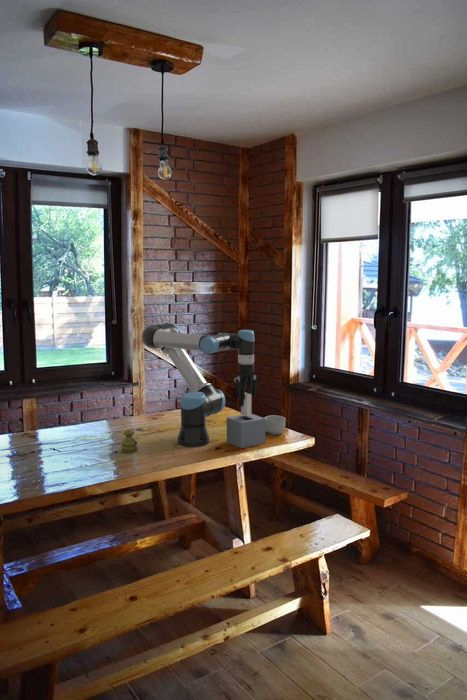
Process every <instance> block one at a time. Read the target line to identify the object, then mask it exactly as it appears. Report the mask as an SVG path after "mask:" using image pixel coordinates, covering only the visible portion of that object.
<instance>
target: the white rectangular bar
mask: <svg viewBox="0 0 467 700" xmlns="http://www.w3.org/2000/svg"><path fill="white" fill-rule="evenodd" d="M244 399H245V400H246V413H242V412H241V411H240V415H246V416H249V415H251V414H252V405H251V394H249V393H248V392H246V391H245V396H244Z"/></svg>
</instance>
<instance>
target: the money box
mask: <svg viewBox="0 0 467 700" xmlns="http://www.w3.org/2000/svg"><path fill="white" fill-rule="evenodd" d="M226 442H227V443H228V444H231V445H233V446H235V447H237V448H240V449H245V448H248V447H249V448H250V447H253V446H259V445H263V444H266V431H265V417H262V416H259V415H256V414H254V413H251V415H249V416H246V415H243V414H239V415H233V416H228V417H226Z"/></svg>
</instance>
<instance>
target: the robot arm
mask: <svg viewBox="0 0 467 700" xmlns="http://www.w3.org/2000/svg"><path fill="white" fill-rule="evenodd" d="M237 332H238V333H230V332H218V333H217V334H215V335H205V334H198V333H196V334H195V333H186V332H182V330H181V328H180V327H179V326H178V325H177V324H175V323H172V322H171V323H169V322H164V323H160V324H151V325H149V326H147V327H145V328H144V329H143V331H142V334H141V340H142V343H143V344H144V346H146V347H147V348H149V349H159V350H161V352H162V353H163V354H164V355H168V357H169V359H170V360H171V361H172V363H173V365H174V366H175V367H176V369H177V371H178V372H179V374H180V375H181V377H182V379H184V382H185V383H186V384H187V386H188V387H189V389H190V390H191V392H187V393H184V394H182V396H181V397H180V429H179V432H178V436H177V444H178V445H180V446H183V447H191V448H192V447H203V446H206V445H208V444H210V435H209V433H208V429H207V425H206V423H207V422H206V418H207V417H210V416H213V415H216V414H218V413H220V412H222V411H223V410H224V408H225V406H226V396H225V393H223V391H222V390H220V389H217V388H215V386H214V385H213V384H212V383H209V382H208V381H206V379H205V377H204V376H203V375H202V372H201V371H200V370H199V368H198V367H197V365H196V364H195V362H194V361H193V359H192V358H191V356H190V354H188V352H187V351H186V350H188V351H197V352H203V353H204V354H214V353H217V352H222V351H227V350H235V351H236V350H237V352H238V354H237V358H238V359H237V362H238V364H237V371H238V374H237V377H234V378H232V379H233V382H234V389H235V398H236V399H239V405H240V413H241V412H242V413H246V400H245V399H244V396H245V392H246V390H247V392H246V393H249V394H251V406H252V405H253V399H255V397H256V396H257V390H258V380H259V378H260V376H258V375H256V374H255V373H254V372H255V364H254V363H255V341H256V339H255V332H254V330H250V329H240V330H238V331H237Z"/></svg>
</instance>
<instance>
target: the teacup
mask: <svg viewBox="0 0 467 700" xmlns="http://www.w3.org/2000/svg"><path fill="white" fill-rule="evenodd" d="M264 418H265V433H267V434H268V435H272V436H278V435H281V434H282V433H284V431H285V428H286V417H284V416H281V415H278V414H277V415H276V414H275V415H274V414H273V415H272V414H271V415H267V416H265V417H264Z"/></svg>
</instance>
